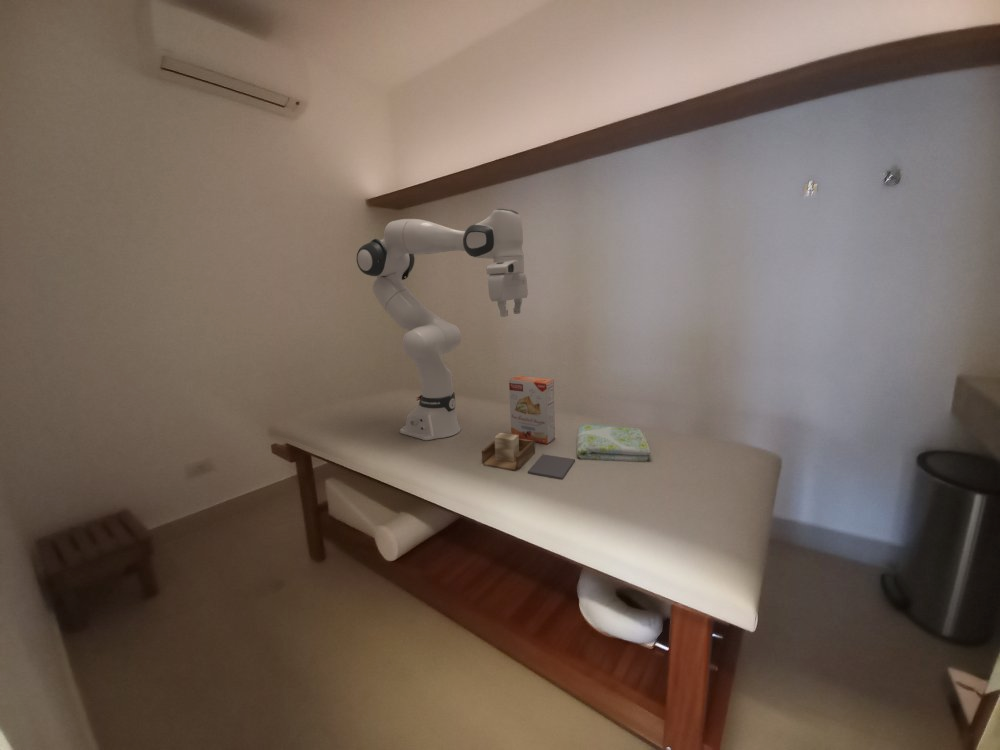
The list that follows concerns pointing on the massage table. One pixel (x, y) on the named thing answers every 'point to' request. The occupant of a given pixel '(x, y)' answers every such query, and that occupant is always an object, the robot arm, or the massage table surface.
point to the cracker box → (532, 408)
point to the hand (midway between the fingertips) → (510, 315)
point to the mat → (551, 466)
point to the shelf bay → (524, 455)
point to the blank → (506, 447)
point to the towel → (611, 443)
